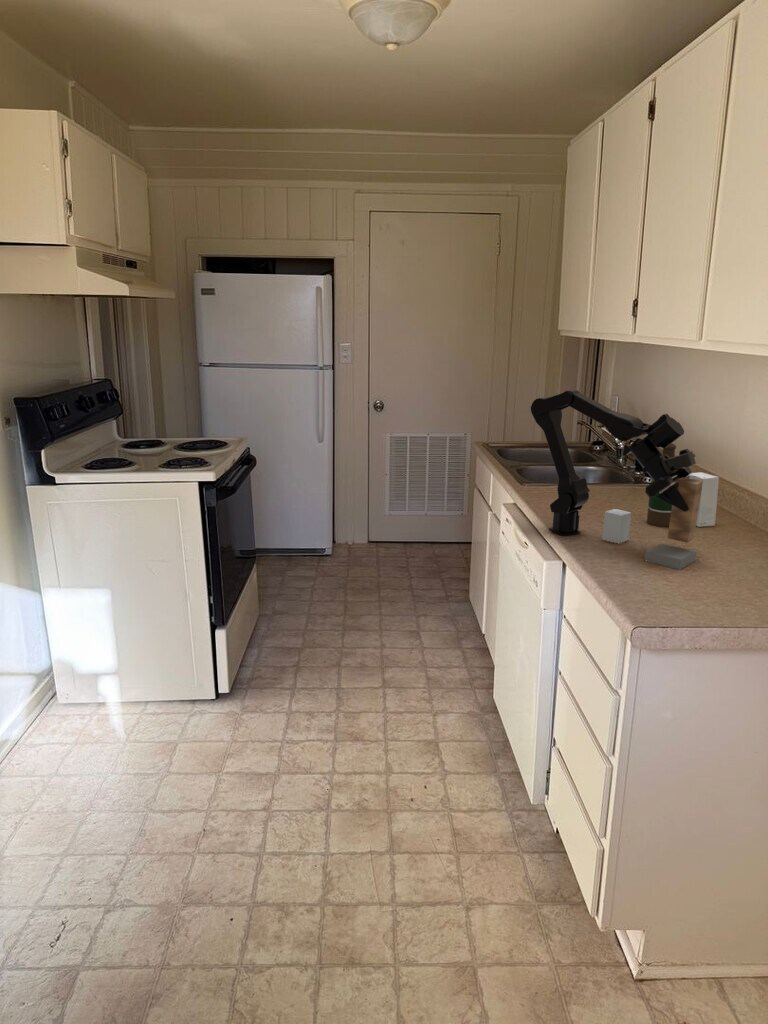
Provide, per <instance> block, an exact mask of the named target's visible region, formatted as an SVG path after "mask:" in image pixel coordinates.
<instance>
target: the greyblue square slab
mask: <svg viewBox="0 0 768 1024" xmlns="http://www.w3.org/2000/svg"><path fill="white" fill-rule="evenodd" d="M696 557H697V551H695V550H690V549H687V548H682V547H679V546H674V545H671V544H670V545H669V544H664V543H660V544H658V545H655V546H653V547H651V548H649V549H647V550H645V554H644V561H645V560H647V561H650V562H649V563H651V562H654V563H653V564H655V563H657V564H656V565H659V564H660V565H659V566H664V567H667V566H668V567H667V568H671V569H675V570H682V569H685V567H688V566H689V565H691V564H693V563H695V562H696ZM647 561H646V562H647Z"/></svg>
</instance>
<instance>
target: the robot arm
mask: <svg viewBox="0 0 768 1024" xmlns="http://www.w3.org/2000/svg"><path fill="white" fill-rule="evenodd" d="M569 407H571V408H572V409H574V410H575V411H577V412H579V413H580V414H583V415H584V416H586V417H588V418H590V419H591V420H593V421H595V422H597V423H599V424H601V425H602V426H603V427H604V428H605V429H606V430H607V431H608V433H609V434H611V435H612V436H613V437H614V438H615V439H616V440H618V441H620V442H628V441H632V440H634V441H632V442H631V443H627V444H624V445H623V451H622V456H624V457H625V456H627V455H630V454H632V455H633V457H634V458H635V459H636V460H637V461H638V463H639V464H640V466H641V467H642V469H641V471H642V472H643V474H646V473H647V474H648V476H649V477H650V478H651V480H652V479H653V481H654V482H652V483H649V484H648V485H647V486H645V490H644V492H645V494H646V495H647V496H648V499H649V498H651V497H653V496H655V494H657V493H658V492H659V493H660V494H659V495H658V496H656V498H659V499H661V500H663V501H665V502H668V503H669V504H671V505H673V506H675V507H677V508H679V509H681V510H683V511H685V512H686V511H687V510H689V508H688V506H687V505H686V503H685V501H684V499H683V498H682V496H681V494H680V493H679V491H678V485H679V482H676V481H677V480H678V479H680V478H688V479H689V478H690V476H688V475H689V474H691V473H693V471H692V470H691V468H690V467H691V466H693V465H697V462H696V459H695V458H696V454H694V451H693V450H689V449H688V448H685V449H682V450H680V451H679V455H675V457H672V458H670V456H669V455H668V454H667V455H666V454H665V455H663V454H662V451H661V450H660V448H662V449H663V448H666V447H667V446H669V445H670V444H674V442H676V441H677V440H678V439H679V438H681V437H682V436H683V435H684V434H685V429H684V427H683V426H682V424H681V423H680V422H679V421H677V420H676V419H674V418H673V417H671V416H670V415H669V414H668V413H664V414H661V416H660V417H659V418H658V419H657V420H656V421H654V423H652V424H650V423H649V424H648V423H645V422H643V420H642V419H640V418H639V417H637V416H633V415H631V414H627V413H622V412H618V411H615V410H613V409H611V408H609V407H606V406H605V405H604V404H602V403H600V402H598V401H597V400H594V399H593V398H590V397H589V396H586V395H585V394H584V393H583V394H582V393H581V392H580V391H579V390H577V389H569V390H565V391H563V392H561V393H559V394H556V395H553V396H546V397H539V398H536V399H535V400H533V401H532V403H531V405H530V413H531V415H532V418H533V419H534V421H535V423H536V424H537V425H538V426H539V428H541V430H542V431H543V432H544V436H545V439H546V443H547V446H548V449H549V452H550V455H551V456H550V457H551V458H552V461H553V464H554V468H555V472H556V475H557V478H558V483H557V487H556V488H557V490H556V491H557V496H558V497H557V499H555V500H554V501H553V502H551V504H549V507H550V511H551V513H553V516H552V517H553V518H552V527H549V531H551V530H552V532H554V533H555V532H556V534H557V533H558V535H559V534H560V536H567V535H577V534H581V530H579V528H580V527H579V526H580V515H579V513H580V512H579V511H581V510H582V508H583V507H584V505H585V504H586V503H587V502H588V500H589V497H590V494H589V493H590V491H591V490H590V488H589V487H588V484H587V480H586V479H587V478H585V477H583V478H580V477H579V475H577V473H576V471H575V468H574V463H573V460H572V458H571V454H570V452H569V448H568V446H567V445H568V444H567V442H566V438H565V436H564V432H563V428H562V420H563V419H562V418H563V412H562V410H565V409H567V408H569ZM644 435H646V436H645V437H643V438H639V437H641V436H644ZM687 476H688V477H687Z"/></svg>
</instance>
